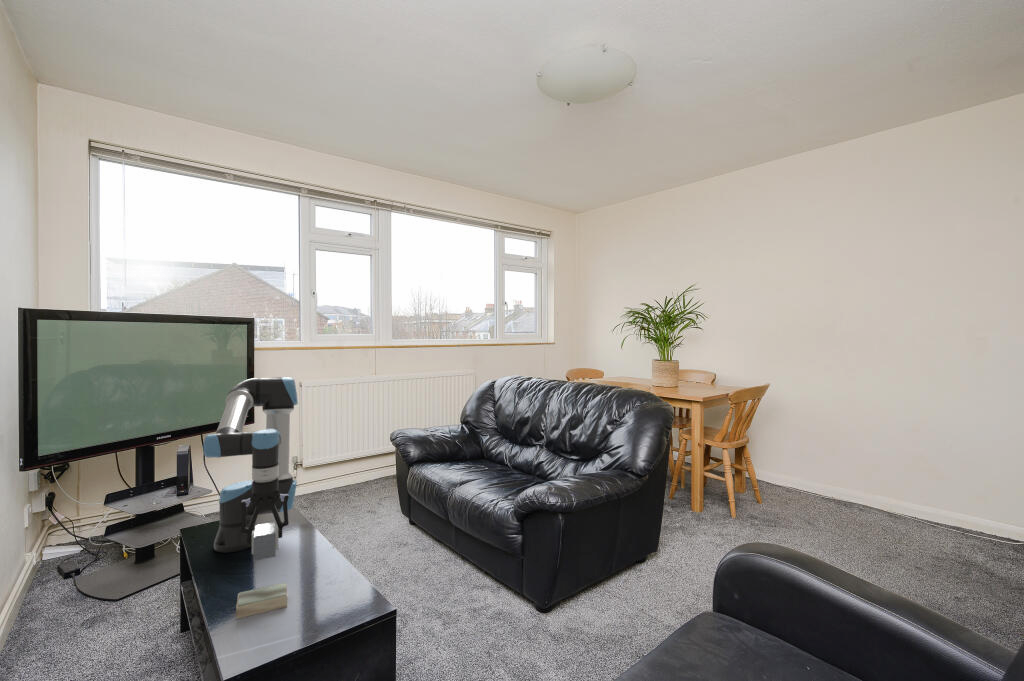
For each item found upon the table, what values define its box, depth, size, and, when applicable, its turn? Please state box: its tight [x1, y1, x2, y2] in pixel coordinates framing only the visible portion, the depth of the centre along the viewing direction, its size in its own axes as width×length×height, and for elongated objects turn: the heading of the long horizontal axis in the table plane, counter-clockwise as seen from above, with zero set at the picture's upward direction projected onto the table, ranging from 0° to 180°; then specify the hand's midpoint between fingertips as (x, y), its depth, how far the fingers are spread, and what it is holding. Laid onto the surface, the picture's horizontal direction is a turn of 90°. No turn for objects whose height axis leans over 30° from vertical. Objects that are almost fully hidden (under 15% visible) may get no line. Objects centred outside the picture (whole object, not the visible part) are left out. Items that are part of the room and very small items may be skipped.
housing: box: [253, 521, 277, 562], centre depth 146 cm, size 10×6×7 cm, turn 27°
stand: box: [235, 582, 288, 619], centre depth 136 cm, size 8×13×4 cm, turn 118°
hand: (265, 550), depth 146 cm, fingers closed on housing, 6 cm apart
